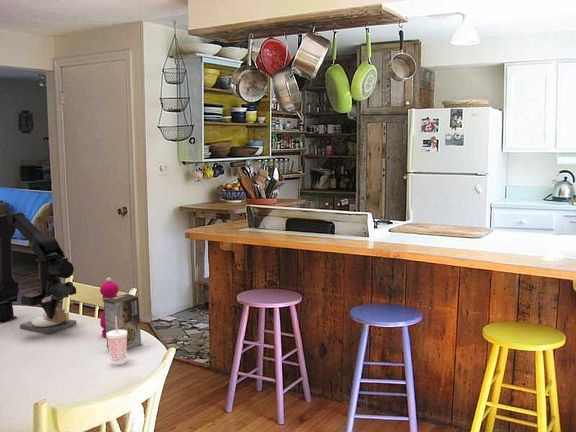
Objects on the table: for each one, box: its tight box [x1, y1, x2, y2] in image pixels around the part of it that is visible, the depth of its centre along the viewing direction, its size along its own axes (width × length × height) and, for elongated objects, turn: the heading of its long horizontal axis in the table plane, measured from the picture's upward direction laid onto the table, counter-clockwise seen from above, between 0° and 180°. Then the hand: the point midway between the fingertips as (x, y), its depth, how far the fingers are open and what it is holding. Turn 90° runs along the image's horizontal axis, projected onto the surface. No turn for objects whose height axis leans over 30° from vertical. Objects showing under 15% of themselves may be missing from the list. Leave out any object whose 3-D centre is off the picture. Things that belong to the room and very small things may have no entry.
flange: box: [31, 307, 66, 327], centre depth 216 cm, size 11×13×5 cm
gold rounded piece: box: [63, 312, 70, 324], centre depth 216 cm, size 2×2×4 cm
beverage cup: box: [105, 316, 128, 365], centre depth 181 cm, size 6×6×14 cm
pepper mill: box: [99, 277, 120, 338], centre depth 206 cm, size 7×7×20 cm
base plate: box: [19, 318, 77, 335], centre depth 217 cm, size 15×12×2 cm
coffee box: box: [103, 293, 142, 350], centre depth 194 cm, size 9×6×16 cm
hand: (51, 318), depth 211 cm, fingers closed
